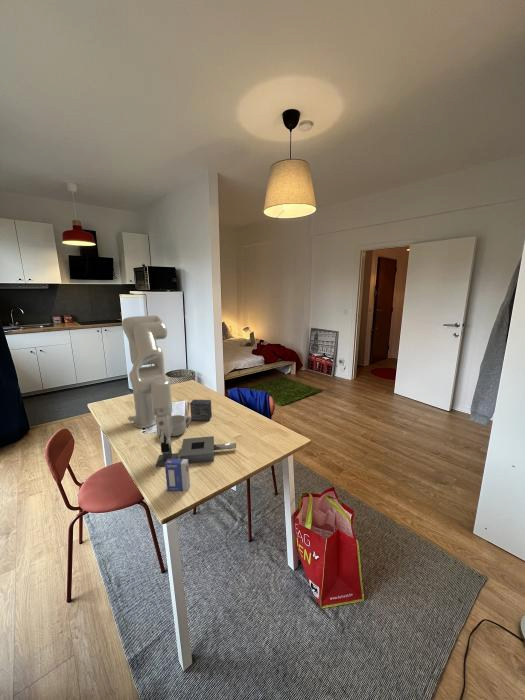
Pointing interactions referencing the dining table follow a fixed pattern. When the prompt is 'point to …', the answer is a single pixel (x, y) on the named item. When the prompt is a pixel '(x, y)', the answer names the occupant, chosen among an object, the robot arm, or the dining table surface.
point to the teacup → (179, 424)
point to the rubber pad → (162, 462)
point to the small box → (201, 410)
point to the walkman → (177, 474)
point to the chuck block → (201, 449)
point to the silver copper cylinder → (167, 454)
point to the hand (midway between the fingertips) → (166, 448)
